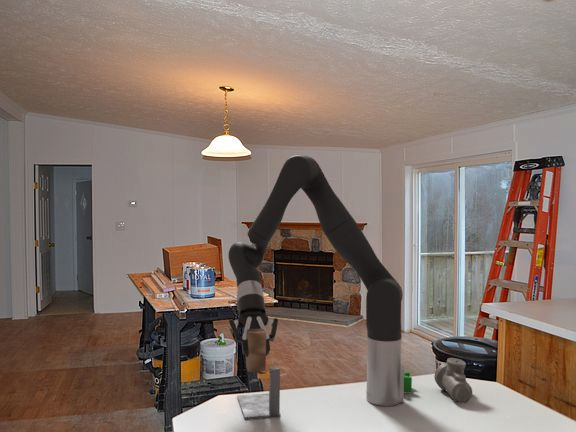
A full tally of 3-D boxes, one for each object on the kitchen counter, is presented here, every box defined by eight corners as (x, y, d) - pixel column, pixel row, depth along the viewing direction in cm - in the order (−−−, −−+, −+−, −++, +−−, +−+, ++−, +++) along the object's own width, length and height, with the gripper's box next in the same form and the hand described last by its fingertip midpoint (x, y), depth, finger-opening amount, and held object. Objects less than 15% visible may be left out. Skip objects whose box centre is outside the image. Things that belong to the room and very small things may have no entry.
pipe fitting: (431, 386, 147) (436, 353, 146) (459, 388, 147) (463, 355, 146) (445, 406, 135) (450, 370, 134) (474, 409, 135) (480, 373, 134)
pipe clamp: (413, 397, 140) (413, 381, 140) (399, 396, 140) (399, 380, 140) (407, 383, 151) (408, 368, 151) (395, 383, 151) (395, 367, 151)
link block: (262, 365, 134) (263, 328, 134) (265, 370, 130) (266, 332, 130) (245, 366, 133) (246, 329, 133) (248, 371, 129) (248, 333, 129)
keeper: (269, 395, 139) (269, 352, 139) (280, 416, 125) (281, 368, 125) (237, 397, 137) (237, 354, 137) (244, 419, 123) (245, 371, 123)
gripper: (226, 293, 137) (230, 348, 126) (277, 292, 141) (286, 346, 129) (224, 308, 143) (228, 363, 131) (273, 307, 146) (281, 360, 134)
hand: (256, 354), depth 130 cm, fingers closed on link block, 4 cm apart
